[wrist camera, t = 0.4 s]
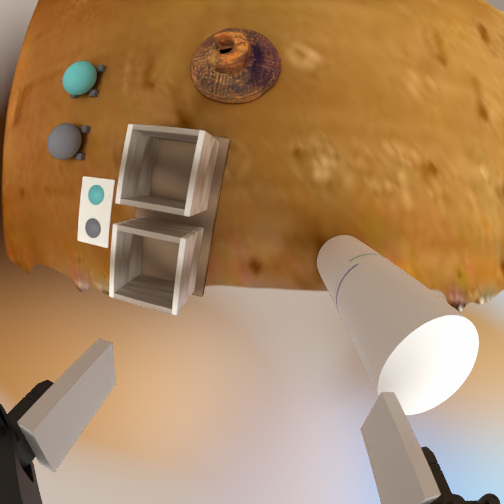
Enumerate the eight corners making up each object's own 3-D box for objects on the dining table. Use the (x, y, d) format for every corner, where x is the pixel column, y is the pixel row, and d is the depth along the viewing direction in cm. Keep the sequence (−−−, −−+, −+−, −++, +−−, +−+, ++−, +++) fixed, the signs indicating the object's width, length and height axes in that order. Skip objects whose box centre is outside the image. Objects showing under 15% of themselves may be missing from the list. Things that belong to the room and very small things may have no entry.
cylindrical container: (305, 261, 38) (353, 381, 14) (344, 223, 36) (453, 288, 12) (340, 296, 39) (410, 428, 14) (377, 260, 37) (490, 356, 13)
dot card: (83, 176, 37) (82, 176, 37) (115, 180, 37) (114, 180, 37) (78, 240, 40) (77, 240, 39) (108, 247, 39) (107, 248, 39)
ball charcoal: (66, 125, 36) (44, 121, 30) (91, 125, 36) (70, 120, 30) (60, 159, 37) (38, 158, 32) (84, 161, 37) (62, 159, 31)
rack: (152, 130, 35) (121, 117, 27) (230, 139, 35) (218, 126, 26) (132, 276, 40) (101, 298, 31) (203, 294, 40) (185, 323, 31)
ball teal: (81, 68, 33) (62, 59, 28) (107, 65, 33) (88, 54, 28) (72, 99, 35) (51, 92, 29) (98, 97, 34) (77, 89, 29)
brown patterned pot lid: (272, 111, 34) (272, 95, 27) (183, 100, 34) (165, 83, 27) (287, 38, 31) (290, 12, 24) (203, 30, 32) (190, 4, 25)
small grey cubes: (81, 69, 33) (78, 67, 32) (106, 66, 33) (103, 64, 32) (60, 158, 37) (57, 158, 36) (84, 160, 37) (80, 160, 36)
